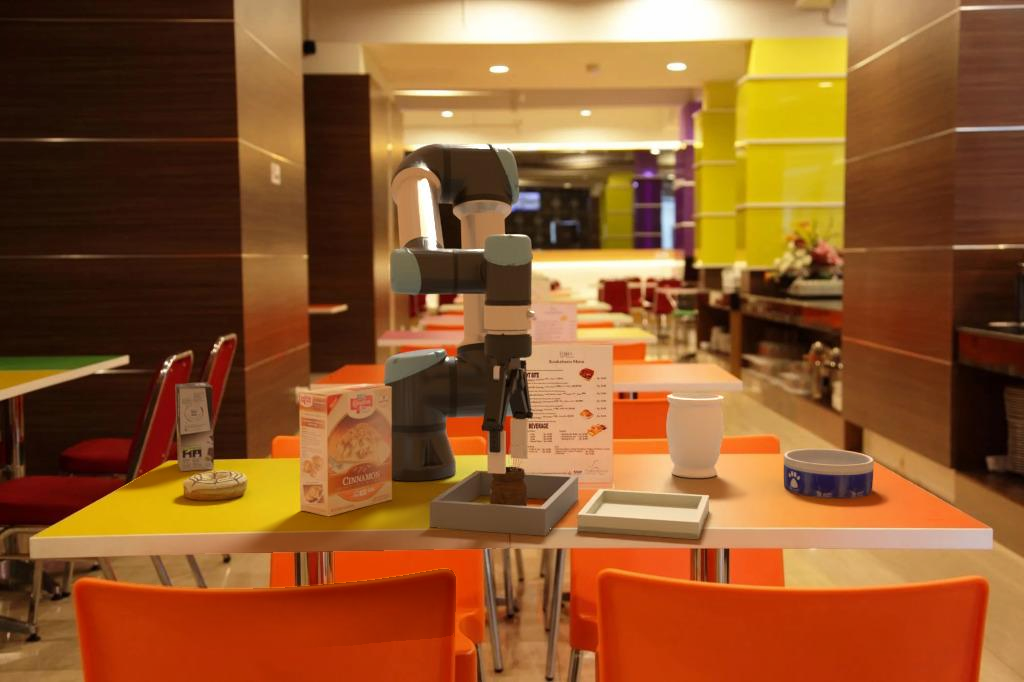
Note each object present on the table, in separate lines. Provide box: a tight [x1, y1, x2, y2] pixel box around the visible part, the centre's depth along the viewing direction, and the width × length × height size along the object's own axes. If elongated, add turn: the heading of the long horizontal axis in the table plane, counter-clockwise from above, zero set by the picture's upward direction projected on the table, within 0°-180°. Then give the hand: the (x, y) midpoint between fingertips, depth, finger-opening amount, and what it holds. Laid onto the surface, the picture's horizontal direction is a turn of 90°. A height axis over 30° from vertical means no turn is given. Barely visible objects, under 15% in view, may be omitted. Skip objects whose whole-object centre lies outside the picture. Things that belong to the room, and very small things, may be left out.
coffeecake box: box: [298, 383, 393, 517], centre depth 173 cm, size 15×7×20 cm, turn 143°
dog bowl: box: [783, 448, 875, 499], centre depth 186 cm, size 15×15×6 cm
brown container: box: [489, 443, 528, 506], centre depth 168 cm, size 6×6×12 cm
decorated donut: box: [182, 470, 249, 502], centre depth 181 cm, size 10×11×4 cm
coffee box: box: [174, 381, 215, 472], centre depth 205 cm, size 9×6×16 cm
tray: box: [576, 488, 710, 540], centre depth 164 cm, size 18×18×2 cm
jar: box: [665, 392, 725, 479], centre depth 198 cm, size 11×10×15 cm
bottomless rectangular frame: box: [429, 470, 579, 537], centre depth 169 cm, size 18×24×4 cm
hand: (508, 465), depth 168 cm, fingers open, 13 cm apart
